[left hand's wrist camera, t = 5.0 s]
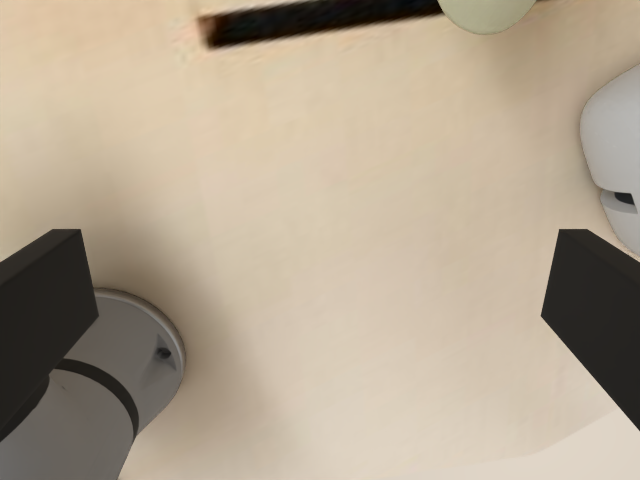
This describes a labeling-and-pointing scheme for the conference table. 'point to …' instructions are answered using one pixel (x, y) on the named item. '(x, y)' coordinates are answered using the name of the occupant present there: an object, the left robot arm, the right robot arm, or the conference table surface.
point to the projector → (616, 152)
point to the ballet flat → (485, 14)
